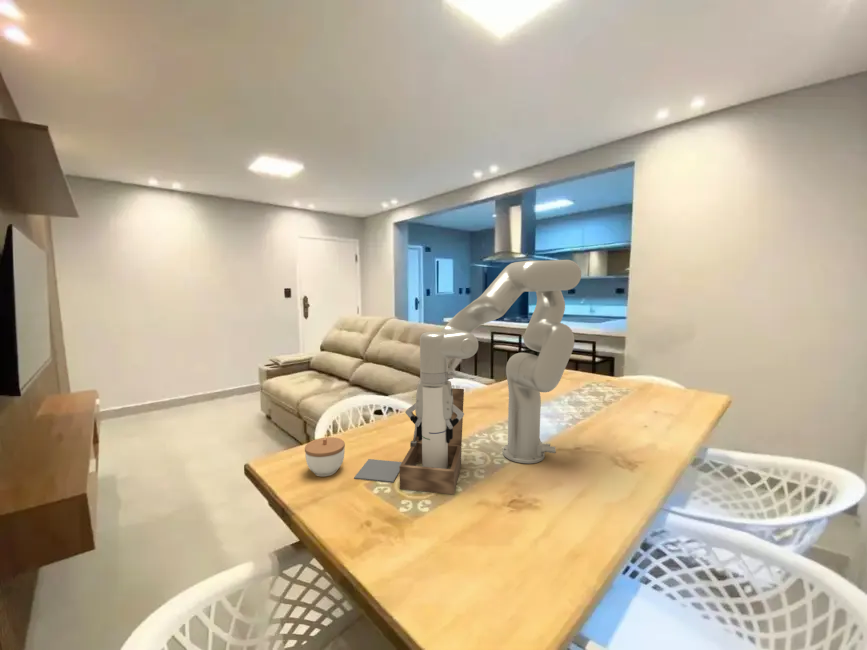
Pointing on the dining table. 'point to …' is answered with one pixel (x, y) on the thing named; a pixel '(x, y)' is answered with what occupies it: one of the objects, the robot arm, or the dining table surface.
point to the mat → (379, 471)
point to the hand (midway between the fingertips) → (434, 439)
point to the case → (429, 476)
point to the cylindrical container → (434, 430)
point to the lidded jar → (325, 455)
